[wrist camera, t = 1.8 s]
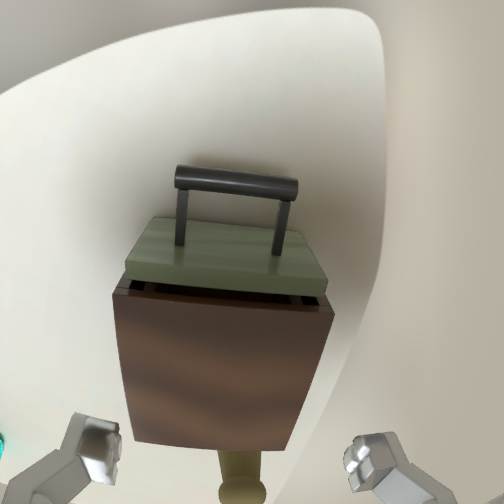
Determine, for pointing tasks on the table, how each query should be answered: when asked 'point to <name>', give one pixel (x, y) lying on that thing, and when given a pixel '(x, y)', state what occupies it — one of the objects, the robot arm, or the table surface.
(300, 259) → the drawer
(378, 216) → the table surface
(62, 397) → the table surface
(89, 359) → the table surface
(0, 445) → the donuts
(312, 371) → the cabinet
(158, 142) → the table surface
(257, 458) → the cork
